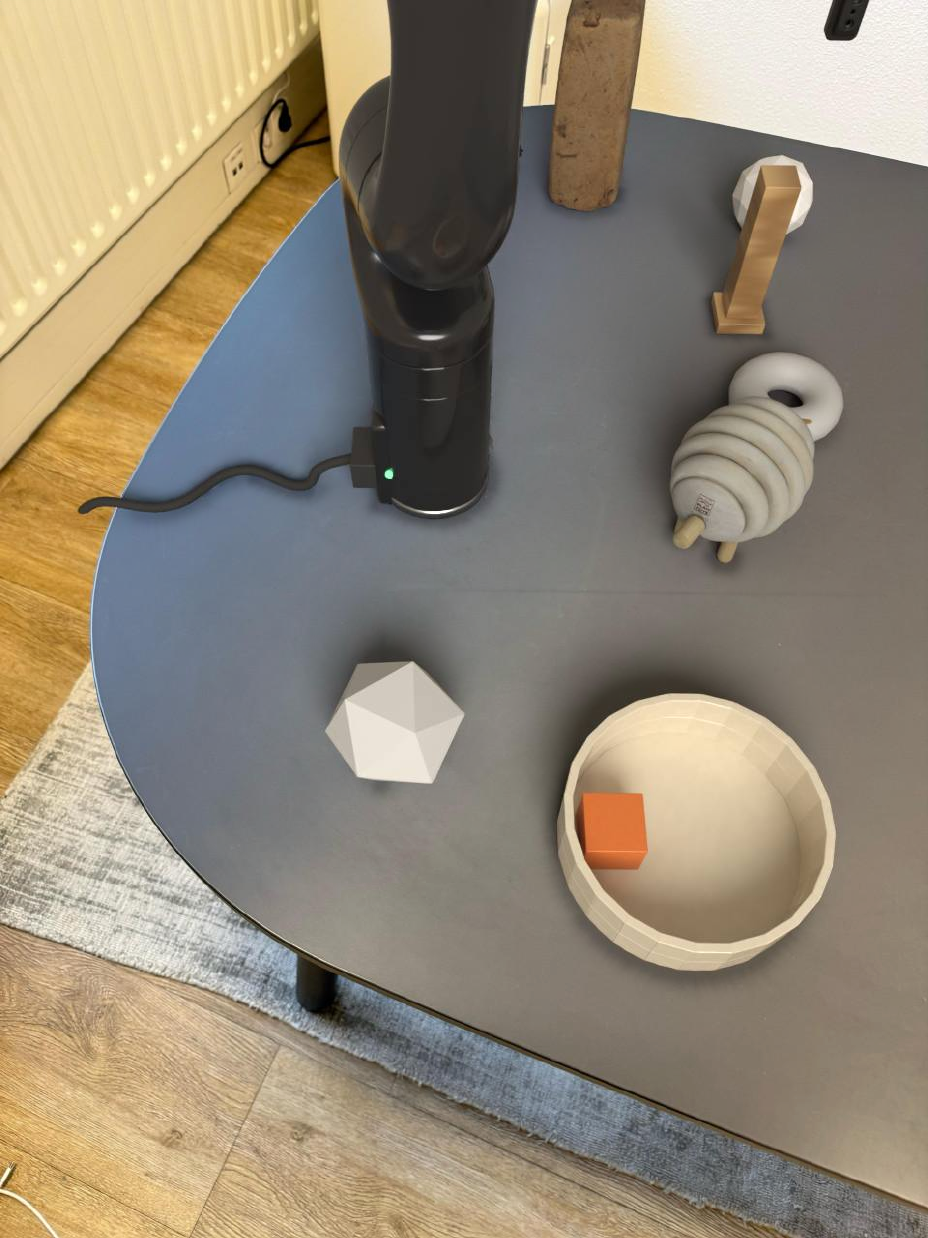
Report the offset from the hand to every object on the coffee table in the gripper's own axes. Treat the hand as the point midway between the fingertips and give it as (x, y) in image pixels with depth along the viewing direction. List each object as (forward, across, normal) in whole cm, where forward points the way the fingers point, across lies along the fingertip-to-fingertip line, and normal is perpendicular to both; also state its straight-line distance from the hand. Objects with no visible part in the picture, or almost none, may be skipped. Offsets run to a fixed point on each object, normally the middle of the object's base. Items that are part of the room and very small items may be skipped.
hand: (827, 4), depth 69 cm
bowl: (+29, +52, -10) cm, 60 cm away
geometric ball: (+29, -13, +5) cm, 32 cm away
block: (+29, -20, -13) cm, 37 cm away
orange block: (+28, +52, -15) cm, 61 cm away
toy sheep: (+29, +24, -4) cm, 38 cm away
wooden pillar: (+29, 0, +1) cm, 29 cm away
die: (+29, +45, -30) cm, 61 cm away
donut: (+29, +12, +3) cm, 31 cm away
